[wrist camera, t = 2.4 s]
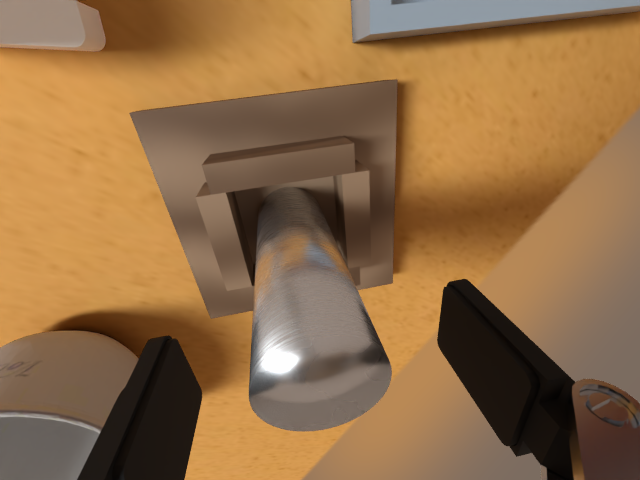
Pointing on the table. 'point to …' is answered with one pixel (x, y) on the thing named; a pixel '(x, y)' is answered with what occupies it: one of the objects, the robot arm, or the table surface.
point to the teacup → (57, 400)
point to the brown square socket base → (276, 178)
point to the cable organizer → (50, 25)
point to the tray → (467, 15)
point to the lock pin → (309, 323)
